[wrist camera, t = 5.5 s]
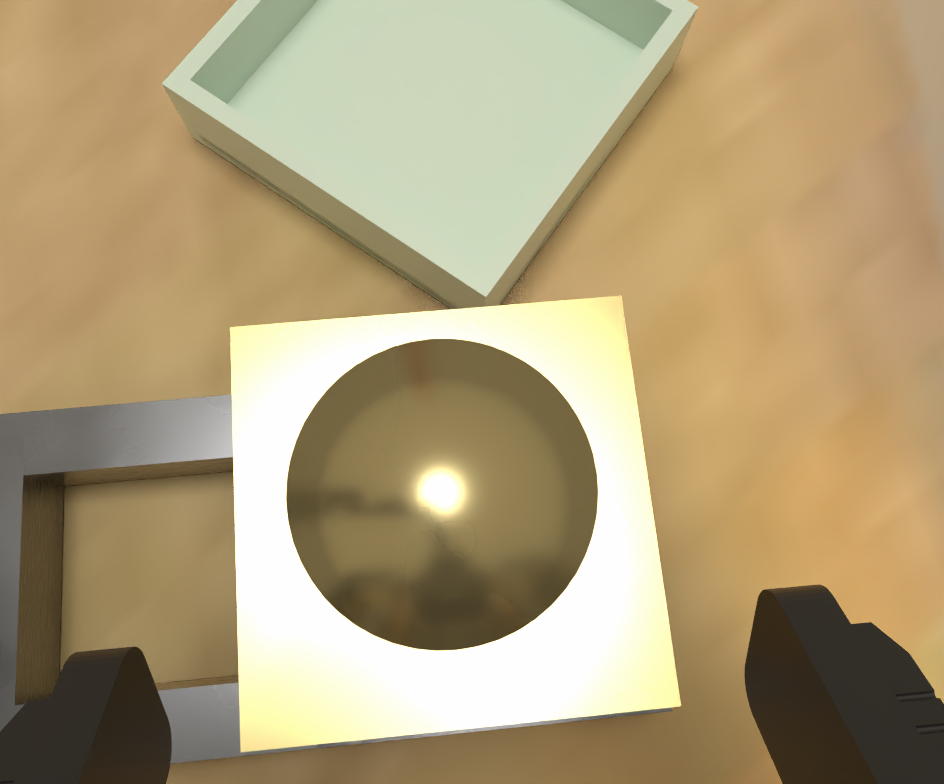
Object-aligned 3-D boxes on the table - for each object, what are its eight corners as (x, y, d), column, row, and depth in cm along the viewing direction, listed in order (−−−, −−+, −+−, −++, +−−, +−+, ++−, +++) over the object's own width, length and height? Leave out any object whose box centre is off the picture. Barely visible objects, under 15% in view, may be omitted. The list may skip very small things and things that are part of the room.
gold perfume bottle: (558, 642, 20) (741, 736, 7) (355, 662, 20) (181, 797, 7) (535, 443, 21) (661, 228, 8) (343, 461, 21) (176, 265, 8)
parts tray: (482, 329, 22) (486, 297, 19) (192, 137, 23) (161, 83, 20) (673, 66, 24) (698, 6, 21) (399, -99, 25) (393, -173, 23)
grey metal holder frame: (650, 698, 20) (672, 711, 18) (-21, 768, 19) (-76, 789, 17) (606, 381, 21) (622, 361, 20) (-6, 434, 21) (-54, 418, 19)
